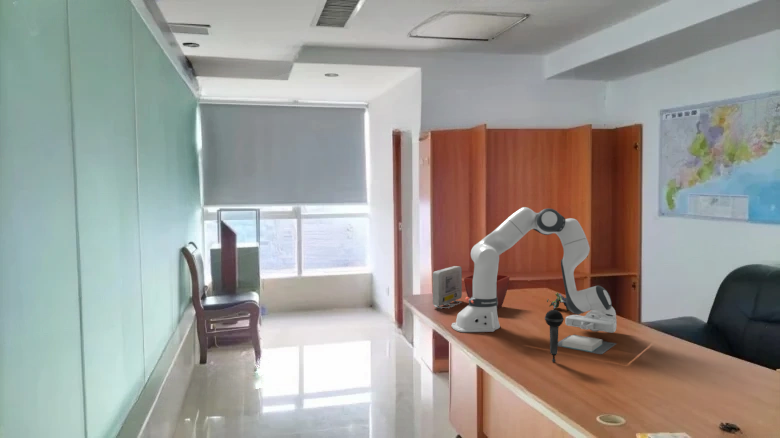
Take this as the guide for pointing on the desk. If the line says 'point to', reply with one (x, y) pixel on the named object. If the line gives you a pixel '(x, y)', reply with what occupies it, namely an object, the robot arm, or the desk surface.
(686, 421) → the desk surface
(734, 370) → the desk surface
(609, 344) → the mat
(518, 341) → the desk surface
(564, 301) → the passion flower
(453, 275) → the network device
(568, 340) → the tile
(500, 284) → the plant pot
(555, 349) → the microphone
